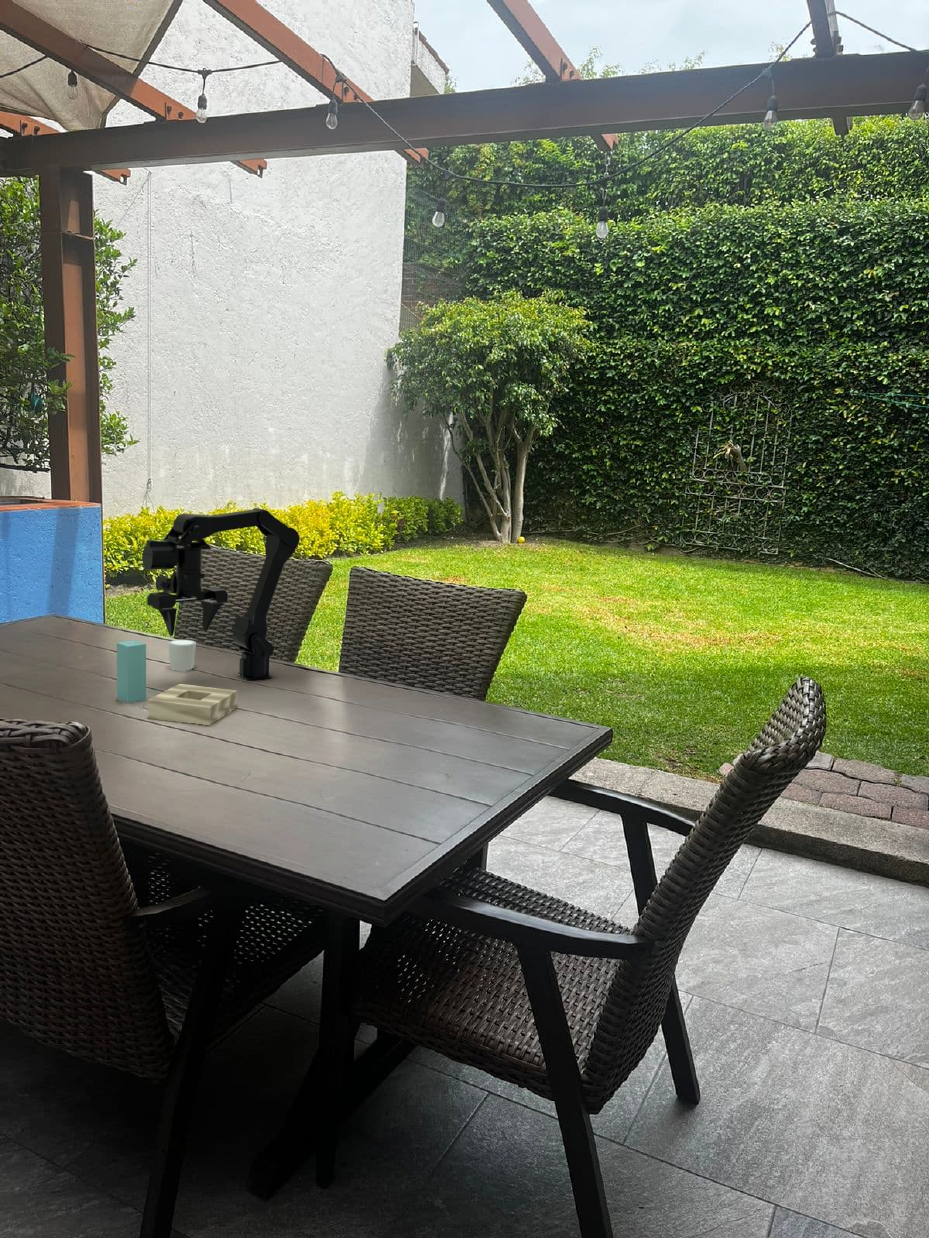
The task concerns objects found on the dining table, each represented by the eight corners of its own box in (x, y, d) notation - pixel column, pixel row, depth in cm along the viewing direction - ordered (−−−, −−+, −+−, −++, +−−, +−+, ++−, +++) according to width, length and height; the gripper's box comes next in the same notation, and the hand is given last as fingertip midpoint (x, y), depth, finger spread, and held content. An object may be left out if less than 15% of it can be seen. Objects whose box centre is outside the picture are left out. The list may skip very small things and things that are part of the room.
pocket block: (179, 700, 208) (179, 683, 208) (237, 707, 206) (237, 690, 205) (147, 718, 195) (147, 700, 194) (209, 725, 192) (209, 707, 192)
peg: (135, 695, 210) (135, 640, 208) (146, 699, 207) (146, 644, 205) (117, 698, 207) (116, 642, 204) (127, 703, 204) (127, 646, 201)
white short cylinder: (191, 672, 232) (191, 646, 231) (164, 670, 232) (164, 644, 231) (199, 666, 239) (199, 640, 237) (173, 664, 239) (173, 638, 237)
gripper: (203, 561, 227) (202, 623, 230) (134, 565, 213) (134, 631, 216) (230, 567, 220) (229, 631, 223) (160, 572, 206) (160, 640, 209)
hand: (188, 633), depth 218 cm, fingers open, 9 cm apart
